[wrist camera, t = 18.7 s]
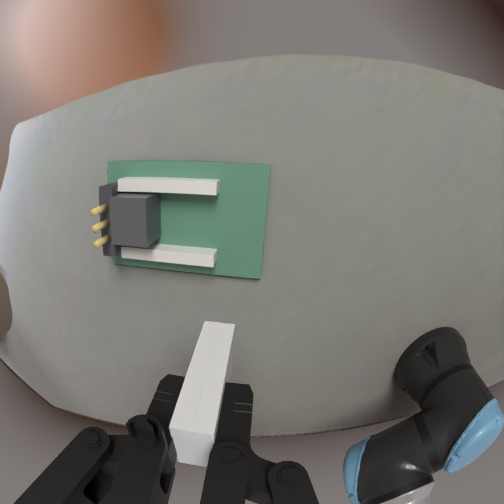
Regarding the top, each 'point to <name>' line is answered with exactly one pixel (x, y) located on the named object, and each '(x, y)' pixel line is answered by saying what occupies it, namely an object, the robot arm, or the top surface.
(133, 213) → the plug
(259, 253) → the header board
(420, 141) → the top surface
